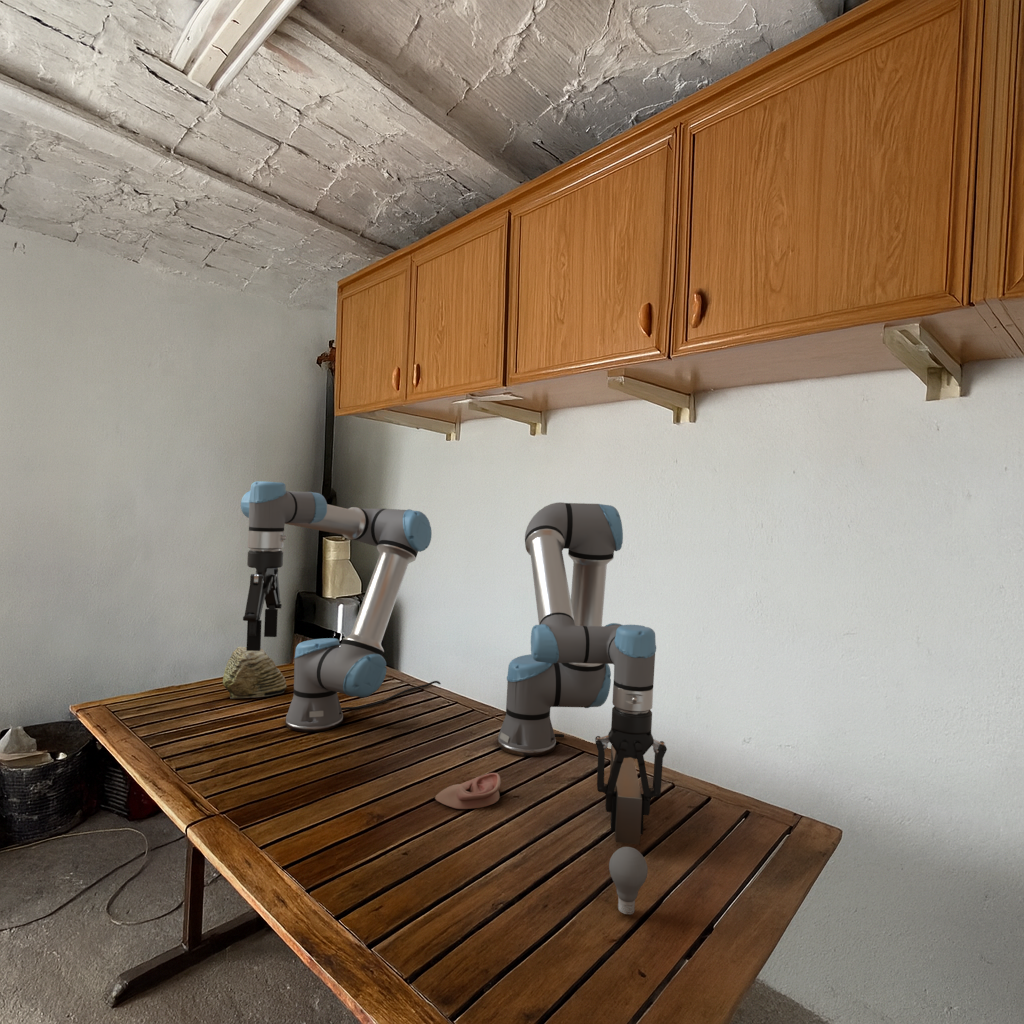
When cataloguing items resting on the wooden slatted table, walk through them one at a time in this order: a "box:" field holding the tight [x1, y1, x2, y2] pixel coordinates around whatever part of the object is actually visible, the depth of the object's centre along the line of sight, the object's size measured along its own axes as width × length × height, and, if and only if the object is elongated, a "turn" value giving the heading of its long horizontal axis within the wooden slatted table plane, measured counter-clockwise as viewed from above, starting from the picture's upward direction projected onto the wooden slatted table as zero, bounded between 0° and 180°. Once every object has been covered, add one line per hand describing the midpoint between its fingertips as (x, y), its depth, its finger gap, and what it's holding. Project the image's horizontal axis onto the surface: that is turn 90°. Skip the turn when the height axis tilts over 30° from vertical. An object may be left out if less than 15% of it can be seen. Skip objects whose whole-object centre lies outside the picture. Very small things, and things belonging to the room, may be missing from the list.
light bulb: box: [608, 846, 649, 915], centre depth 100 cm, size 6×6×10 cm
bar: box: [609, 744, 642, 845], centre depth 129 cm, size 25×4×9 cm, turn 174°
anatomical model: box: [434, 772, 502, 810], centre depth 136 cm, size 13×4×12 cm
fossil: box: [222, 646, 288, 699], centre depth 198 cm, size 9×18×15 cm, turn 132°
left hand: (262, 643), depth 143 cm, fingers open, 13 cm apart
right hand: (626, 829), depth 121 cm, fingers closed on bar, 4 cm apart
